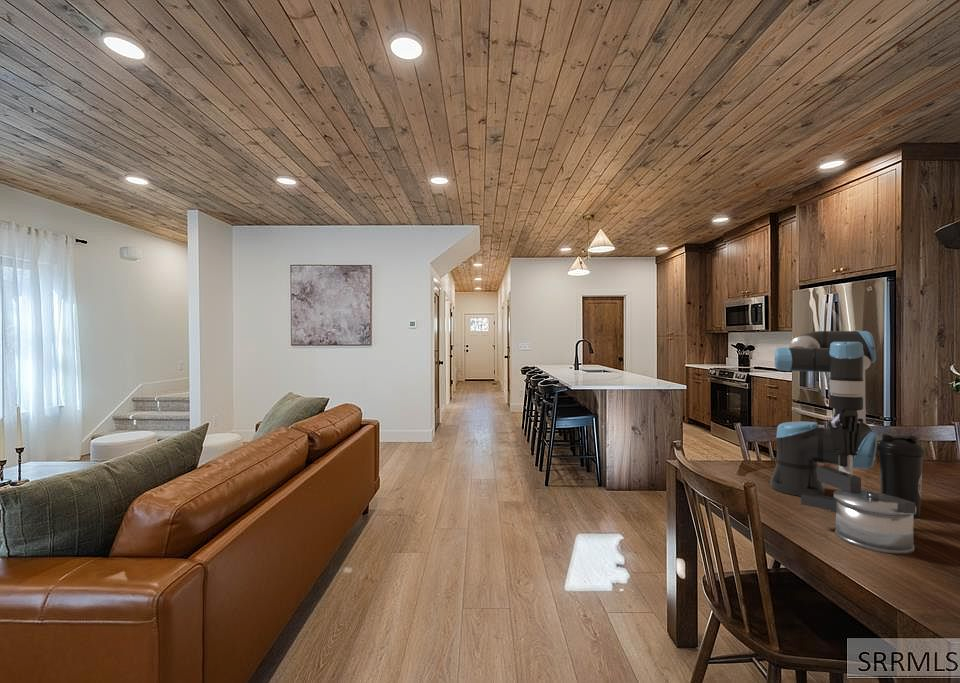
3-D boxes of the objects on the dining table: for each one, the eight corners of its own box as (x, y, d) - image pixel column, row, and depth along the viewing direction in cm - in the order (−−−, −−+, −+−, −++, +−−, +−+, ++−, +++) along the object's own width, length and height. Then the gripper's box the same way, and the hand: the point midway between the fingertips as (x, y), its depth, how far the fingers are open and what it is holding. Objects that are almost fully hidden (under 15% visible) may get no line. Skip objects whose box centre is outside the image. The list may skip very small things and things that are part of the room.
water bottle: (928, 521, 129) (929, 440, 129) (881, 514, 134) (881, 436, 134) (918, 510, 137) (918, 434, 137) (874, 503, 143) (874, 430, 143)
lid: (941, 517, 107) (941, 495, 107) (878, 519, 106) (878, 496, 106) (847, 483, 133) (848, 466, 133) (795, 484, 132) (796, 466, 132)
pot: (912, 539, 117) (912, 504, 117) (916, 560, 105) (916, 522, 105) (804, 516, 132) (805, 485, 132) (797, 533, 120) (798, 499, 120)
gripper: (844, 393, 136) (844, 471, 136) (818, 394, 131) (817, 476, 131) (874, 395, 130) (874, 478, 130) (847, 397, 124) (847, 483, 124)
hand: (845, 477), depth 130 cm, fingers closed
